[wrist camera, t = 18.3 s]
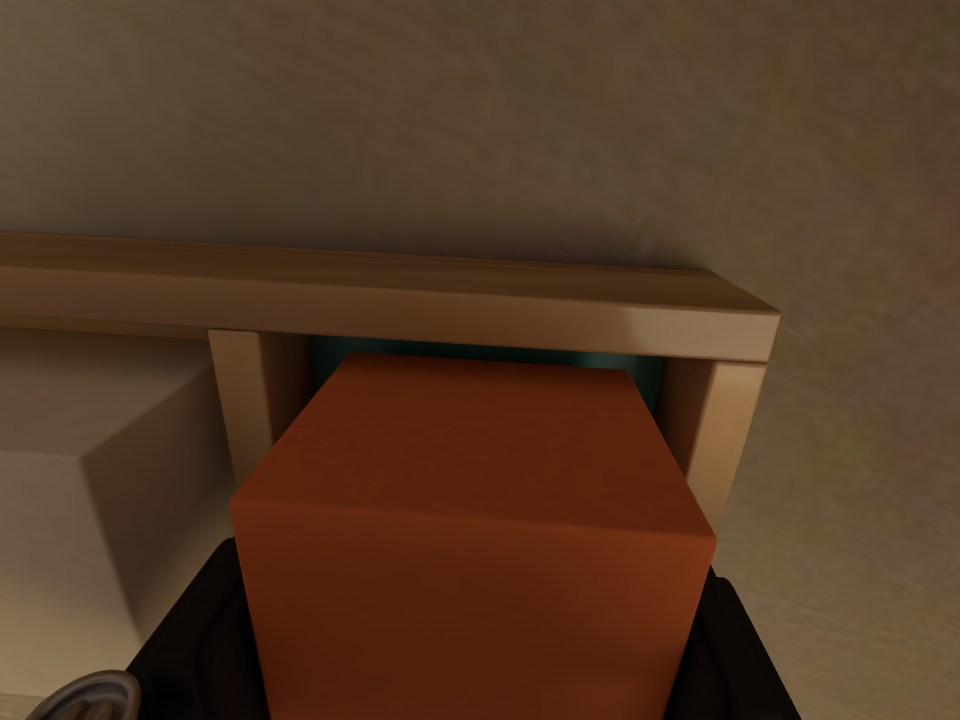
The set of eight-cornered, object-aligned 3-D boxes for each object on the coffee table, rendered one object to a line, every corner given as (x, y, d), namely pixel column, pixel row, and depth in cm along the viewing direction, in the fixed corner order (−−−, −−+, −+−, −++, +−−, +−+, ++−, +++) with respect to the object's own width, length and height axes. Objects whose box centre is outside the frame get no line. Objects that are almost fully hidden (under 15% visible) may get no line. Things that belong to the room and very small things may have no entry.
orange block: (349, 350, 11) (224, 500, 6) (628, 368, 10) (721, 539, 6) (364, 587, 13) (287, 815, 9) (585, 605, 13) (625, 850, 8)
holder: (-96, 225, 12) (-297, 248, 9) (713, 270, 11) (786, 312, 8) (35, 547, 16) (-74, 637, 13) (637, 595, 16) (667, 702, 13)
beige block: (-29, 324, 12) (-354, 426, 8) (243, 341, 12) (77, 457, 7) (43, 513, 15) (-171, 679, 10) (272, 531, 14) (160, 709, 10)
